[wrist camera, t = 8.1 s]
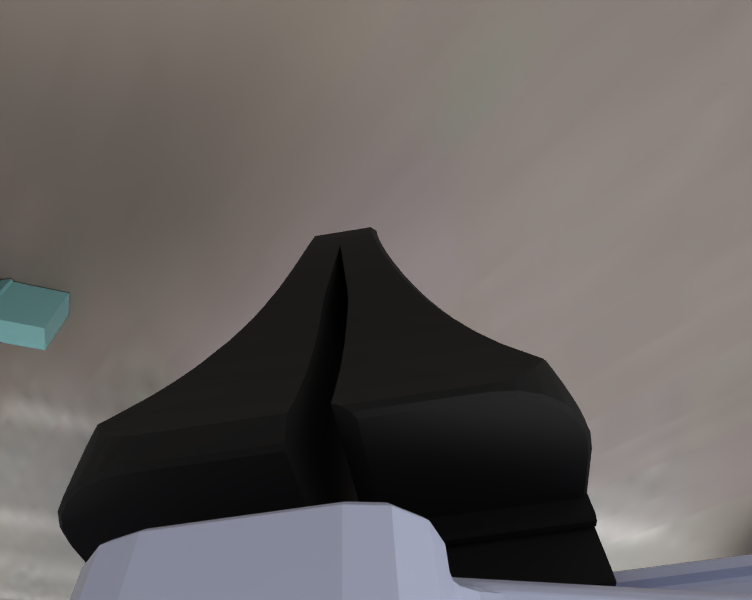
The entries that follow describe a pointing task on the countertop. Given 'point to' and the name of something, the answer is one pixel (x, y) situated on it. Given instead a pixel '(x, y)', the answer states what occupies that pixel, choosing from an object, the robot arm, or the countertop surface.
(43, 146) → the countertop surface
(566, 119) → the countertop surface
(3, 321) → the chassis
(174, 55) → the countertop surface
